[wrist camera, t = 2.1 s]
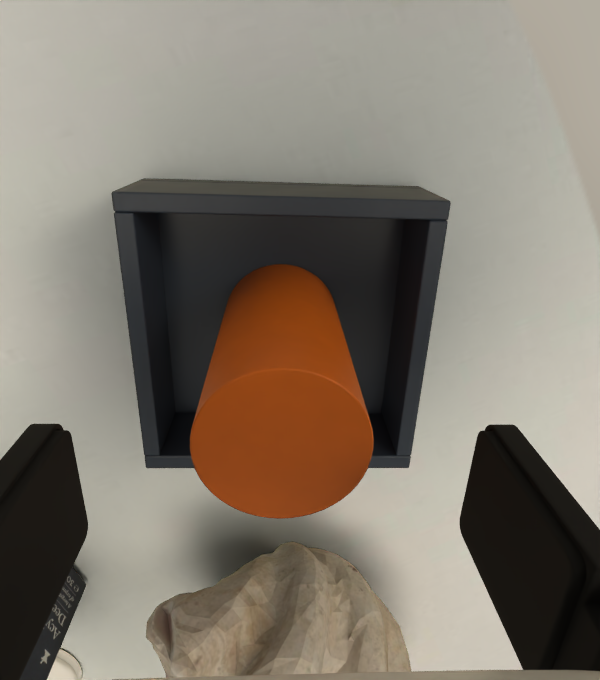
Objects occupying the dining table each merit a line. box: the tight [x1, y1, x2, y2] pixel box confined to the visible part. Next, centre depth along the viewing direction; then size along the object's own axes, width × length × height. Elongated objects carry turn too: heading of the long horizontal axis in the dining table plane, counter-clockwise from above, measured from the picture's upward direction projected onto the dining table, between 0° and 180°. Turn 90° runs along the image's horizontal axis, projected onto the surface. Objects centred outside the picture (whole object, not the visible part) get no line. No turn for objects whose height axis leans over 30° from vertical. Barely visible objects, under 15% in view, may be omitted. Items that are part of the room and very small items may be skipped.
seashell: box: [146, 542, 411, 678], centre depth 22 cm, size 10×15×10 cm
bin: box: [112, 179, 451, 468], centre depth 18 cm, size 10×10×4 cm
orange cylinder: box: [190, 264, 374, 518], centre depth 15 cm, size 4×4×8 cm
